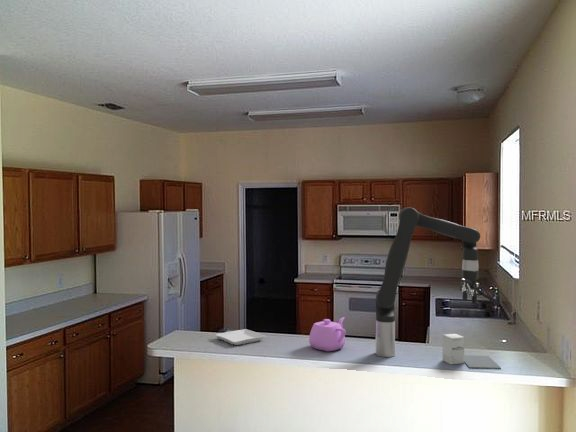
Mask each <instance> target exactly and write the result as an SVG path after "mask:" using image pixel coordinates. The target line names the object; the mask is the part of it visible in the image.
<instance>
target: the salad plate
mask: <svg viewBox="0 0 576 432" xmlns="http://www.w3.org/2000/svg"><path fill="white" fill-rule="evenodd" d="M214 337H215V338H216V337H217V339H220V341H221V340H222V341H223V340H224V341H223V342H226V343H228V344H230V345H233V344H234V345H233V346H241V344H242V345H246V343H247V344H250V343H255V342H258V341H259V342H260V341H263V340H264V339H265V338H266V335H265V334H262V333H260V332H256V331H253V330H250V329H247V328H243V329H238V330H232V331H226V332H221V333H216V334H215V336H214Z"/></svg>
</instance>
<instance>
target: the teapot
mask: <svg viewBox="0 0 576 432" xmlns="http://www.w3.org/2000/svg"><path fill="white" fill-rule="evenodd" d="M345 318H346V317H345V316H343V317H341V318H339V319H338V322H335V321H331V319H329V318H324V319H323V320H322V321H318V322H315V323H313V325H312V327H311V330H310V332H309V339H308V342H309V344H310V346H311V347H312V348H314V349H315V350H316V349H317V350H319V351H325V352H333V351H337V350H340V349H342V348H344V346H345V345H346V337H345V336H346V332H347V331H346V329H345V328H343V321H345Z"/></svg>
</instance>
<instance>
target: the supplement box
mask: <svg viewBox="0 0 576 432" xmlns="http://www.w3.org/2000/svg"><path fill="white" fill-rule="evenodd" d="M464 355H465V336H462V335H461V334H457V333H447V334H442V358H441V359H442V361H443V362H445V363H447V364H449V365H457V364H458V365H459V364H464Z"/></svg>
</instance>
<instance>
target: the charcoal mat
mask: <svg viewBox="0 0 576 432" xmlns="http://www.w3.org/2000/svg"><path fill="white" fill-rule="evenodd" d="M464 363H465V365H466V367H468V369H483V370H484V369H485V370H489V369H490V370H502V369H501V366H500V365H499V364H498V363H496V361H495V360H494V359H492V358H491V357H490V356H489V355H478V354H477V355H475V354H474V355H473V354H472V355H471V354H466V355H465V354H464ZM464 363H463V364H464Z"/></svg>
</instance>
